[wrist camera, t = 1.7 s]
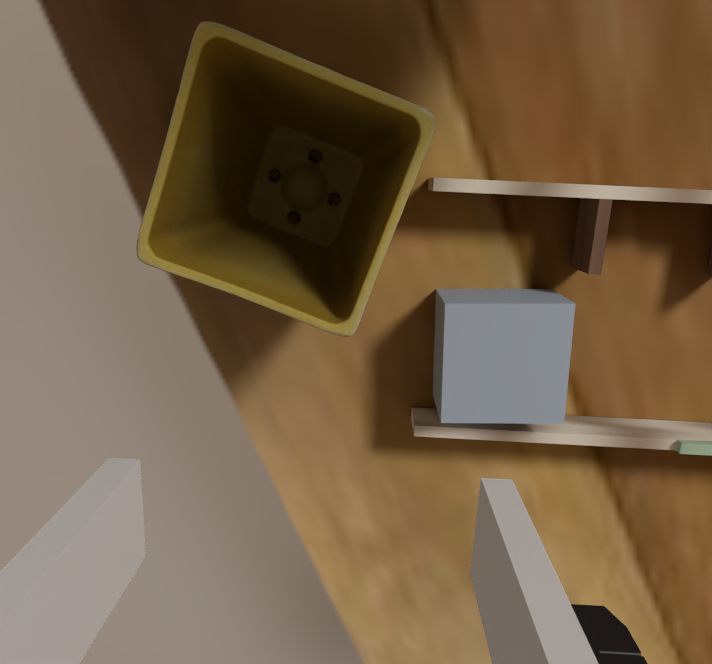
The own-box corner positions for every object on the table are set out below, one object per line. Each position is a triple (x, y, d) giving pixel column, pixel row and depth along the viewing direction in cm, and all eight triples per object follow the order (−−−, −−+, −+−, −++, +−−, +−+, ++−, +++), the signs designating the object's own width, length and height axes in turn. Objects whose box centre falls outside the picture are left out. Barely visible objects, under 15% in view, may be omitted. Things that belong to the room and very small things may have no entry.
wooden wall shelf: (410, 416, 32) (414, 439, 29) (428, 178, 28) (434, 177, 26) (806, 437, 31) (848, 462, 29) (871, 198, 28) (926, 200, 25)
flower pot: (421, 135, 28) (442, 113, 19) (358, 296, 30) (351, 342, 21) (253, 67, 27) (197, 13, 19) (201, 236, 30) (129, 259, 21)
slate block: (432, 394, 32) (440, 423, 28) (435, 288, 30) (445, 303, 26) (540, 394, 31) (563, 423, 28) (549, 288, 30) (575, 303, 26)
